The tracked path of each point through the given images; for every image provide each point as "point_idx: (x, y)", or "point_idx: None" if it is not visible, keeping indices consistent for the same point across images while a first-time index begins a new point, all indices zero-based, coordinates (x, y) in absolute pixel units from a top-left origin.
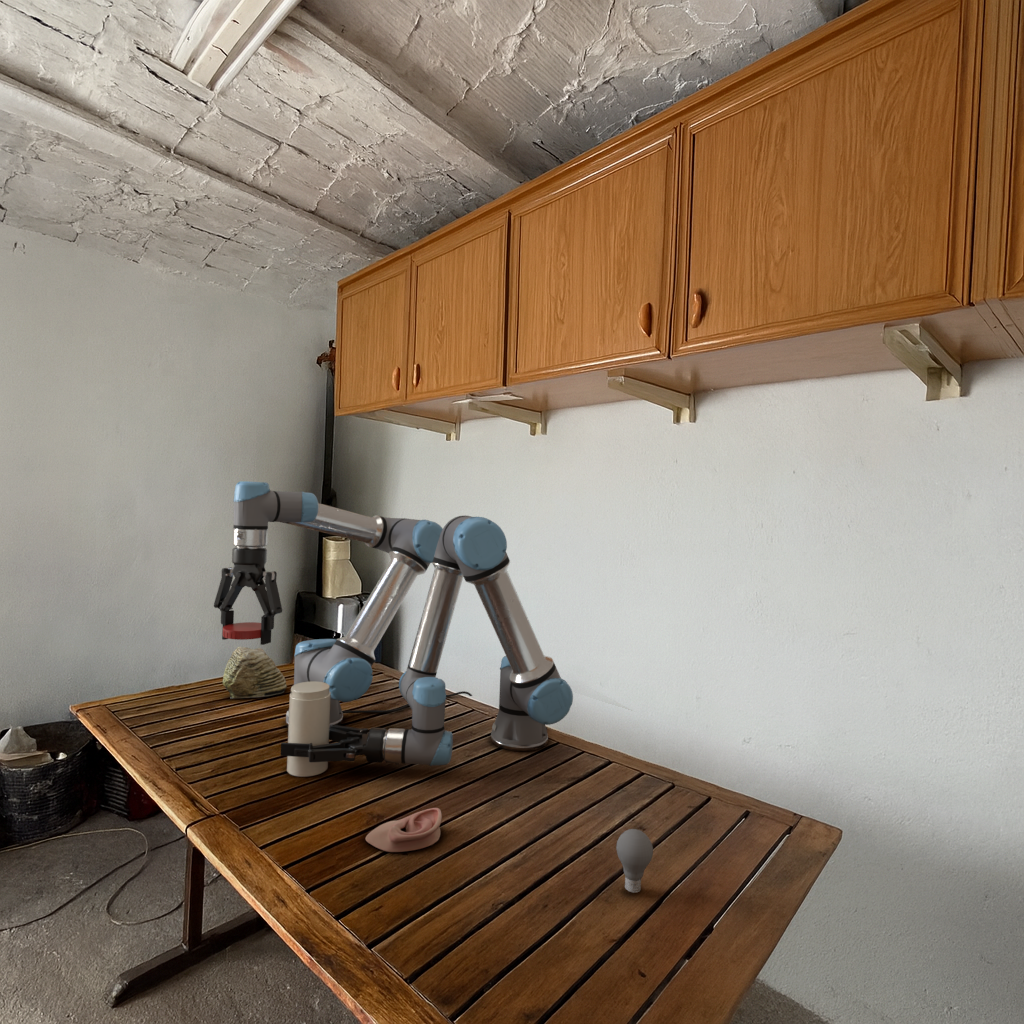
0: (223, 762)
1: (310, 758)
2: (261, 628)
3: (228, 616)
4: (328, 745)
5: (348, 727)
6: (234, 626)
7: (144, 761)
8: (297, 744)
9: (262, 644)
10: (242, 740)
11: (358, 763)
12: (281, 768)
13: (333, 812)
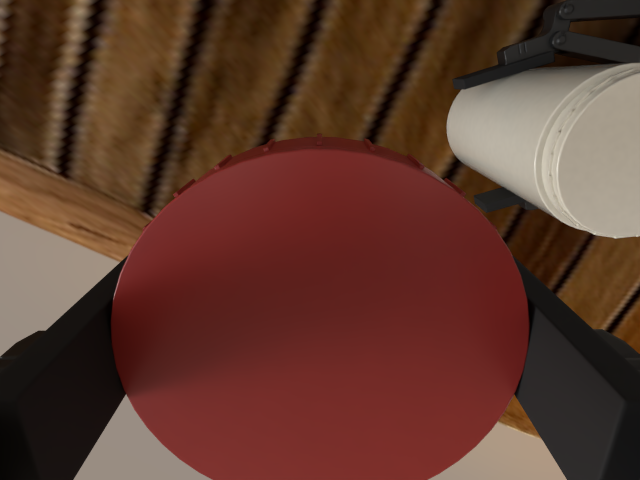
0: None
1: None
2: (526, 406)
3: (75, 429)
4: None
5: (629, 2)
6: (227, 400)
7: (126, 239)
8: None
9: None
10: (221, 33)
11: (613, 39)
12: (435, 148)
13: (635, 272)
